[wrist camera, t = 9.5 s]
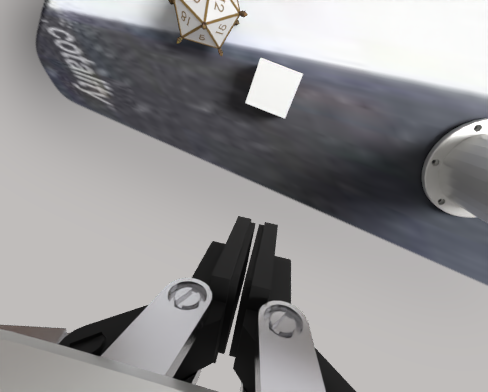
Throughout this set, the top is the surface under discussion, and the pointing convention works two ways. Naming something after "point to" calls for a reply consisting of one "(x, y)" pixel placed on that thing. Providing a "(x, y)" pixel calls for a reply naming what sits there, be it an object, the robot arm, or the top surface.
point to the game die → (207, 20)
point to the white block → (273, 88)
